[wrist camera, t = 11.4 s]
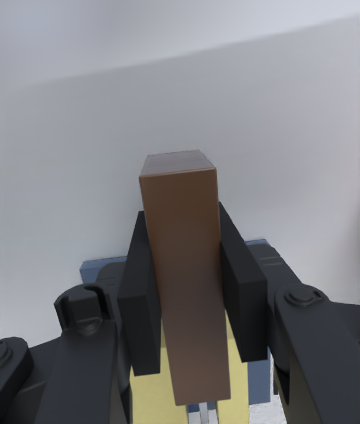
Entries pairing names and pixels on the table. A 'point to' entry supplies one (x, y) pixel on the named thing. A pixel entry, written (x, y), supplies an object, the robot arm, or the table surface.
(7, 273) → the table surface
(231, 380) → the butter pat
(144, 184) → the knife
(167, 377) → the butter block
